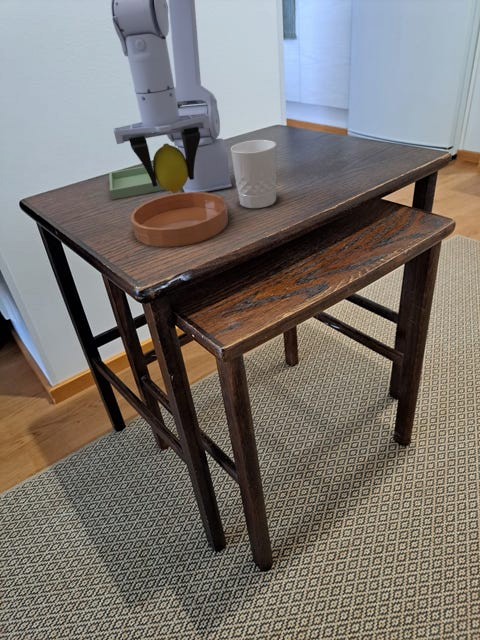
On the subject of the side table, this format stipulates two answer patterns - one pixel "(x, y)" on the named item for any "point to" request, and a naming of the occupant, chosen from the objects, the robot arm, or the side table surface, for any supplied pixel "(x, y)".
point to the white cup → (255, 172)
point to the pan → (179, 219)
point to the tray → (131, 183)
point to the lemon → (170, 168)
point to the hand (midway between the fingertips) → (172, 181)
